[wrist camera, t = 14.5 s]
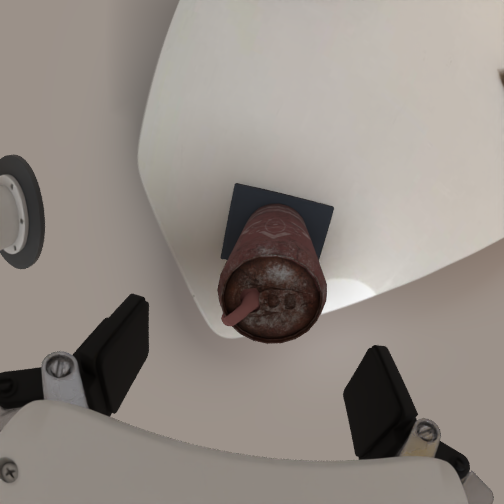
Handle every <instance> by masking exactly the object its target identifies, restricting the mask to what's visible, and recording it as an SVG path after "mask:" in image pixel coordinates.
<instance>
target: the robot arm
mask: <svg viewBox="0 0 504 504" xmlns="http://www.w3.org/2000/svg"><path fill="white" fill-rule="evenodd" d="M28 230H29V218H28V209H27V204H26V200H25V196H24V193H23V191H22V188H21V186H20V185H19V183H18V181H17V180H16V179H15V178H14V177H13V176H12V175H9V174H5V175H1V176H0V250H2V249H4V251H6V252H7V253H9V254H16V253H18V252H20V251H21V250H22V249H23V248H24V246H25V244H26V241H27V237H28ZM148 316H149V303H148V302H146V301H145V298H144V297H142V296H139V295H135V294H130V295H129V296H128V297H127V298H126V299H125V301H124V302H123V303H122V304H121V305H120V306H119V307H118V308H117V309H116V310H115V311H114V313H113V314H112V315H111V316H110V317H109V318H105V319H104V320H103V321H102V322H101V323H100V324H99V325H98V326H97V328H96V329H95V330H94V331H93V332H92V333H91V334H90V335H89V337H88V338H87V339H86V340H85V341H84V342H83V343H82V345H81V346H80V347H79V348H78V349H77V350H76V352H75V353H74V354H73V355H71V354H69V353H66V352H53V353H51V354H49V355H48V356H46V357H45V358H44V360H43V362H42V367H40V368H33V369H25V370H17V371H8V372H3V373H0V504H492V503H493V498H494V497H493V493H492V491H491V490H490V489H489V488H488V487H487V485H486V484H485V483H484V482H483V481H482V480H481V479H480V478H479V477H478V476H477V475H476V474H475V473H474V472H473V471H471V472H470V473H469V470H470V465H469V461H468V459H467V458H466V457H465V456H464V455H463V454H461V453H459V452H458V451H456V450H454V449H453V448H451V447H449V446H448V445H446V444H444V443H443V442H441V441H440V438H441V433H440V429H439V427H438V426H437V425H436V424H435V423H434V422H433V421H432V420H429V419H425V418H422V419H419V420H416V416H417V415H418V413H417V411H416V409H415V406H414V404H413V402H412V399H411V397H410V395H409V393H408V390H407V388H406V386H405V384H404V382H403V380H402V377H401V375H400V373H399V371H398V369H397V367H396V365H395V363H394V361H393V358H392V356H391V354H390V352H389V350H388V349H387V347H385V346H377V345H374V346H372V348H369V349H368V350H367V352H366V354H365V356H364V357H363V359H362V361H361V363H360V364H359V366H358V368H357V370H356V371H355V373H354V375H353V376H352V378H351V380H350V381H349V383H348V384H347V386H346V388H345V389H344V393H343V397H344V401H345V406H346V411H347V415H348V419H349V424H350V430H351V435H352V440H353V445H354V450H355V454H356V456H358V457H359V460H348V461H307V460H289V459H277V458H267V457H258V456H251V455H244V454H238V453H232V452H227V451H221V450H216V449H211V448H207V447H202V446H198V445H194V444H190V443H186V442H182V441H179V440H175V439H172V438H169V437H165V436H162V435H159V434H156V433H153V432H150V431H146V430H144V429H141V428H138V427H135V426H132V425H130V424H127V423H124V422H122V421H119V420H117V419H114V418H111V417H110V416H111V414H112V413H114V414H115V413H116V412H117V411H118V409H119V407H120V405H121V403H122V401H123V400H124V398H125V396H126V394H127V392H128V391H129V389H130V387H131V385H132V383H133V381H134V380H135V378H136V376H137V374H138V373H139V371H140V369H141V367H142V365H143V364H144V362H145V360H146V358H147V356H148V353H149V332H148V330H149V327H148V326H149V325H148V323H149V322H148V321H149V317H148Z"/></svg>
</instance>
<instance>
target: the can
mask: <svg viewBox="0 0 504 504" xmlns="http://www.w3.org/2000/svg"><path fill="white" fill-rule="evenodd" d="M218 296H219V302H220V306H221V307H222V310H223V315H222V318H221V319H222V322H223V323H224V324H225V325H226V326H232V327H233V328H234V329H235V330H236V331H237V332H239V333H240V334H241V335H243V336H245V337H247V338H249V339H251V340H253V341H258V342H262V343H267V344H268V343H283V342H287V341H290V340H293V339H296V338H298V337H300V336H301V335H303V334H304V333H306V332H307V331H309V330H310V328H311V327H312V326H313V325H314V324H315V322H316V321H317V319H318V317H319V316H320V314H321V312H322V310H323V307H324V305H325V302H326V297H327V284H326V281H325V278H324V275H323V272H322V269H321V266H320V263H319V261H318V258H317V255H316V252H315V249H314V247H313V244H312V241H311V238H310V236H309V233H308V230H307V228H306V225H305V222H304V220H303V218H302V217H301V216H300V214H299V213H298V212H297V211H296V210H294V209H292V208H291V207H289V206H287V205H283V204H268V205H265V206H263V207H260V208H259V209H257V210H256V211H255V212H254V213H253V214H252V215H251V216H250V218H249V220H248V221H247V223H246V225H245V227H244V229H243V231H242V233H241V235H240V237H239V239H238V241H237V243H236V245H235V247H234V249H233V251H232V253H231V254H230V256H229V258H228V260H227V262H226V264H225V266H224V268H223V270H222V273H221V275H220V279H219V285H218Z"/></svg>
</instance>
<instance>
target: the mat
mask: <svg viewBox="0 0 504 504" xmlns="http://www.w3.org/2000/svg"><path fill="white" fill-rule="evenodd" d="M268 204H283V205H287V206H289V207H291V208H292V209H294V210H296V211H297V212H298V213H299V214H300V216H301V217H302V218H303V220H304V222H305V225H306V228H307V230H308V233H309V236H310V238H311V241H312V244H313V247H314V249H315V252H316V255H317V258H318V261H319V258H320V254H321V251H322V248H323V245H324V241H325V238H326V235H327V231H328V228H329V224H330V221H331V217H332V214H333V210H334V207H333V206H329V205H325V204H321V203H318V202H314V201H310V200H306V199H302V198H298V197H294V196H290V195H286V194H282V193H278V192H274V191H269V190H265V189H261V188H256V187H252V186H247V185H242V184H238V183H236V184H235V186H234V191H233V196H232V201H231V206H230V211H229V216H228V221H227V227H226V232H225V237H224V243H223V248H222V253H221V259H225V260H228V258H229V256H230V254H231V253H232V251H233V249H234V247H235V245H236V243H237V241H238V239H239V237H240V235H241V233H242V231H243V229H244V227H245V225H246V223H247V221H248V220H249V218H250V216H251V215H252V214H253V213H254V212H255V211H256V210H257V209H259V208H260V207H263V206H265V205H268Z"/></svg>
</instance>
